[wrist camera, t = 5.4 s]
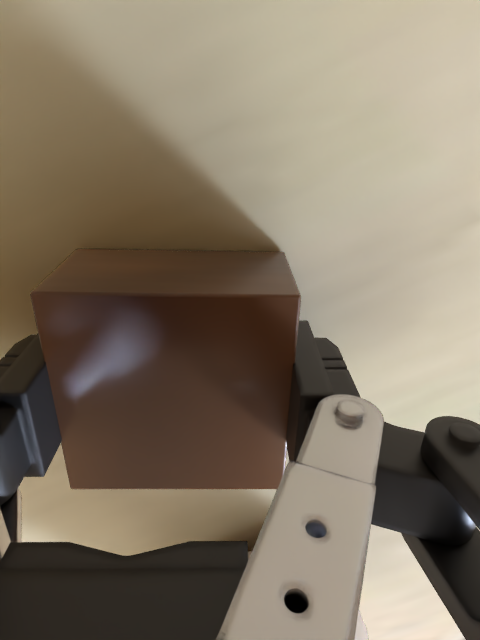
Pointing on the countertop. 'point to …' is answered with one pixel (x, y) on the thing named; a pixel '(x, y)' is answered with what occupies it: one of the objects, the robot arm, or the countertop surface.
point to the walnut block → (170, 366)
